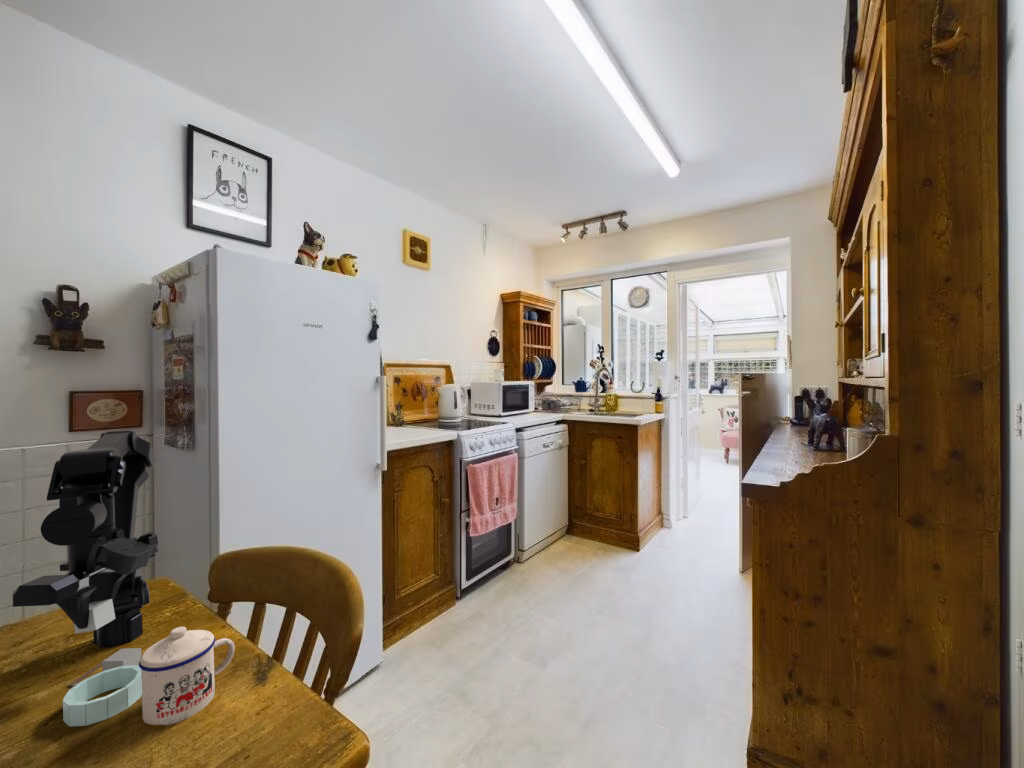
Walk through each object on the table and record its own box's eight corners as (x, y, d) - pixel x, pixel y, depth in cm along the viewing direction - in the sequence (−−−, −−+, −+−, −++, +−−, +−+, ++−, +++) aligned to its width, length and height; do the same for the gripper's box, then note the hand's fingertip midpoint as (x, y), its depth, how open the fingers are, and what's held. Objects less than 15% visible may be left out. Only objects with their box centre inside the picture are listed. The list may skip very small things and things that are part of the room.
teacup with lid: (152, 741, 59) (149, 655, 59) (132, 713, 64) (129, 634, 64) (247, 689, 68) (245, 615, 68) (223, 668, 74) (221, 600, 74)
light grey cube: (75, 633, 69) (71, 612, 69) (95, 622, 73) (92, 602, 73) (96, 630, 69) (92, 609, 69) (115, 618, 73) (112, 598, 73)
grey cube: (103, 682, 71) (102, 661, 71) (122, 668, 74) (121, 648, 74) (123, 681, 71) (123, 660, 71) (141, 667, 74) (141, 648, 74)
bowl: (46, 731, 61) (45, 706, 61) (103, 689, 69) (102, 666, 69) (108, 729, 61) (108, 703, 61) (157, 686, 70) (156, 664, 70)
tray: (68, 691, 69) (68, 685, 69) (108, 662, 76) (107, 657, 76) (121, 688, 69) (121, 682, 69) (156, 660, 76) (156, 655, 76)
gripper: (86, 546, 62) (89, 655, 62) (183, 509, 81) (185, 592, 81) (7, 549, 62) (10, 658, 62) (122, 511, 80) (124, 595, 80)
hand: (94, 621), depth 71 cm, fingers closed on light grey cube, 3 cm apart
